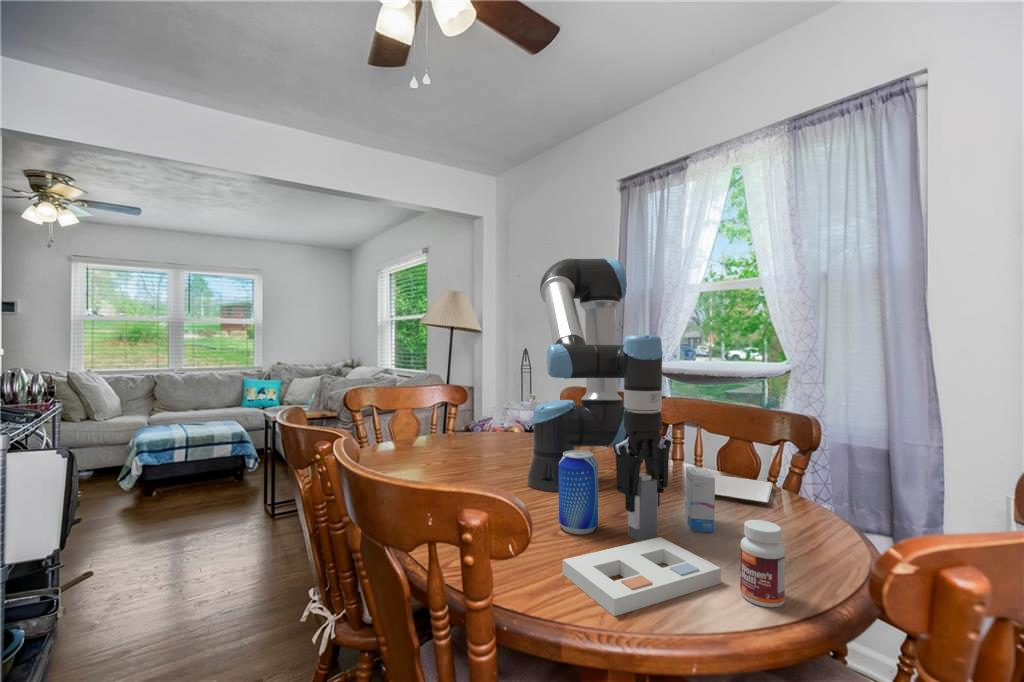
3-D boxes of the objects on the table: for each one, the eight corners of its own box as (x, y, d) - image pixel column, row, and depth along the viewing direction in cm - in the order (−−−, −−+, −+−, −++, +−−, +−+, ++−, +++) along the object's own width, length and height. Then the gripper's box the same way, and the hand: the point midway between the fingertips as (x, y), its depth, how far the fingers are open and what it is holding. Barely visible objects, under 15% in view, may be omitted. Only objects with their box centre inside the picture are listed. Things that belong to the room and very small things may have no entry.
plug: (628, 535, 98) (628, 473, 98) (643, 532, 99) (643, 471, 99) (641, 543, 94) (641, 478, 94) (657, 539, 96) (657, 476, 96)
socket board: (562, 574, 81) (562, 557, 81) (660, 550, 91) (660, 535, 91) (614, 616, 69) (614, 597, 69) (721, 583, 78) (721, 566, 78)
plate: (773, 489, 130) (773, 482, 130) (768, 510, 114) (768, 501, 114) (701, 479, 140) (701, 472, 140) (687, 496, 124) (687, 488, 124)
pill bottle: (735, 599, 73) (735, 526, 73) (746, 584, 78) (746, 515, 78) (780, 613, 69) (780, 536, 69) (788, 596, 74) (788, 524, 74)
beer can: (602, 524, 104) (602, 451, 104) (592, 538, 96) (592, 459, 96) (565, 518, 107) (565, 447, 107) (553, 531, 100) (553, 455, 100)
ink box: (715, 533, 99) (715, 476, 99) (690, 531, 100) (690, 475, 100) (707, 518, 107) (707, 466, 107) (684, 517, 108) (684, 465, 108)
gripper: (621, 415, 90) (621, 539, 90) (687, 410, 97) (687, 524, 97) (597, 410, 96) (597, 525, 96) (661, 406, 104) (661, 512, 104)
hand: (642, 524), depth 97 cm, fingers closed on plug, 4 cm apart
